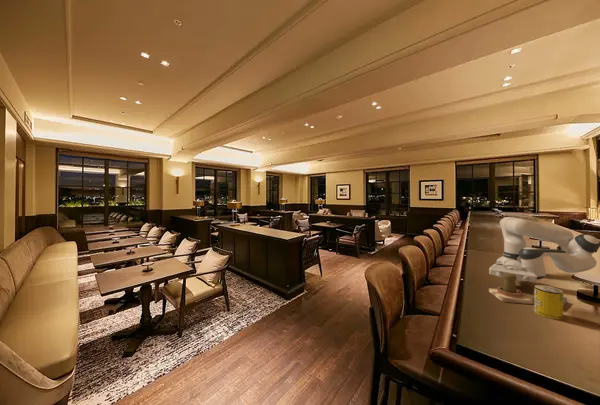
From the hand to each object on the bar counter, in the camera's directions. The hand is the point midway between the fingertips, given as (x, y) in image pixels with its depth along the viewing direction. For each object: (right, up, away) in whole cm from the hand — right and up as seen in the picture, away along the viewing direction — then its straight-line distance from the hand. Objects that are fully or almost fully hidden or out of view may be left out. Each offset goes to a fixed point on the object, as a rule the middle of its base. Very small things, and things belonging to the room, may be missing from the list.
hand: (510, 277), depth 127 cm
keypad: (+9, -10, -11) cm, 17 cm away
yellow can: (-4, -10, -22) cm, 25 cm away
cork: (-5, -7, -5) cm, 10 cm away
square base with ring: (-5, -9, -5) cm, 11 cm away
